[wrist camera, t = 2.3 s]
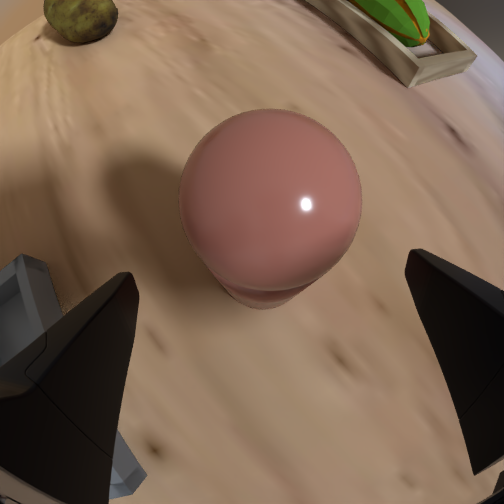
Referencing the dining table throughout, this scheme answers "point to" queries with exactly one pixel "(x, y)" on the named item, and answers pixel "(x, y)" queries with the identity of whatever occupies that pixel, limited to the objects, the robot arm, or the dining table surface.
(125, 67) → the dining table surface
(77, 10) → the potato
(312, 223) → the pink dome-topped cylinder
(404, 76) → the frame
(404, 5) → the corn
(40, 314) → the gray compartment tray
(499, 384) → the robot arm
